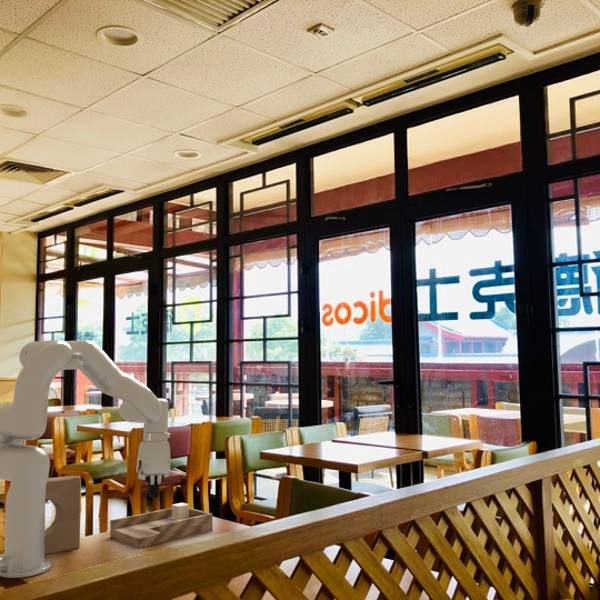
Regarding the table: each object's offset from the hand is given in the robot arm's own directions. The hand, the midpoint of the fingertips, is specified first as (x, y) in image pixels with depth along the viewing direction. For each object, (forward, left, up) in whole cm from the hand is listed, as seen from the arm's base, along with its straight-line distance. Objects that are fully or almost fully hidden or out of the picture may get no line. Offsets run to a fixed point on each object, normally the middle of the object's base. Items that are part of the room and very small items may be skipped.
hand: (153, 497), depth 204 cm
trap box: (+1, -4, -11) cm, 11 cm away
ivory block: (+11, +1, -8) cm, 13 cm away
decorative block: (-29, +3, -11) cm, 31 cm away
